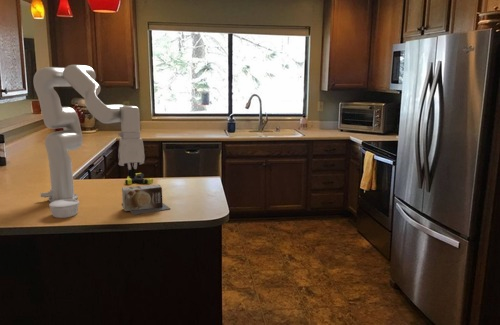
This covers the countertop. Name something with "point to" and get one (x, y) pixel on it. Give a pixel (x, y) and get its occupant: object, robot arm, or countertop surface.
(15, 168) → the countertop surface
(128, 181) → the stun gun
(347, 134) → the countertop surface
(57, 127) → the robot arm
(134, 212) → the mat
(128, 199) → the coffee box
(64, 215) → the ramekin
